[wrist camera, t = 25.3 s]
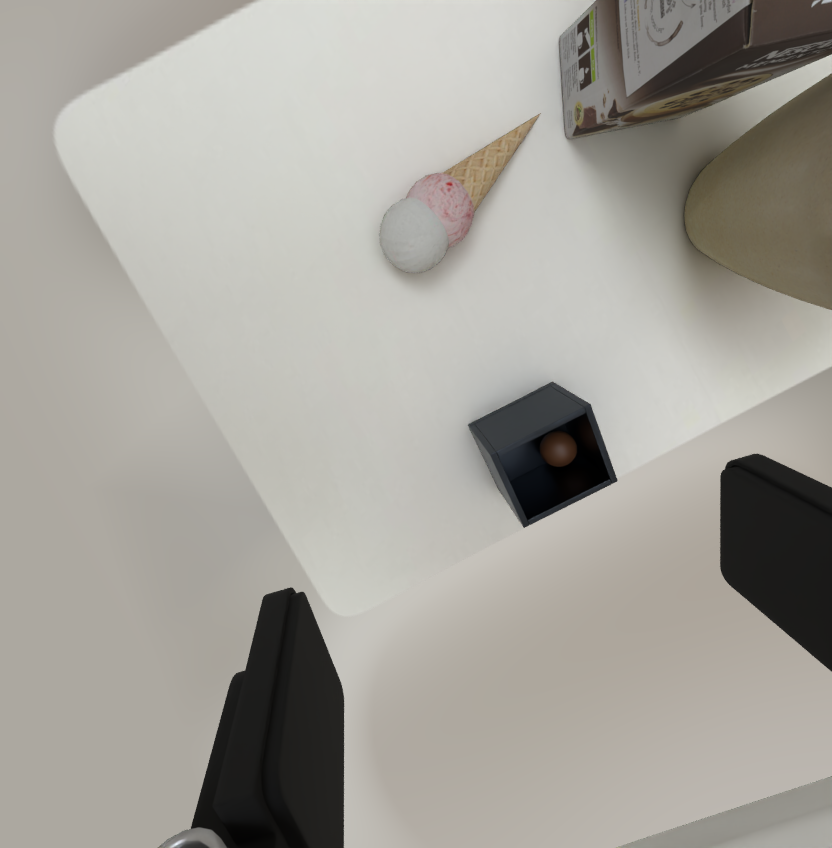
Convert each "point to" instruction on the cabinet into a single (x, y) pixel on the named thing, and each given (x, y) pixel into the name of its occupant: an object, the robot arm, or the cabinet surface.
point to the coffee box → (680, 56)
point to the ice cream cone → (444, 206)
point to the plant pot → (773, 201)
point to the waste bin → (522, 462)
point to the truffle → (558, 448)
